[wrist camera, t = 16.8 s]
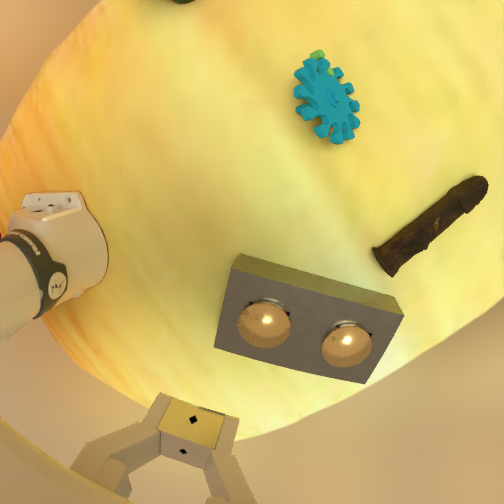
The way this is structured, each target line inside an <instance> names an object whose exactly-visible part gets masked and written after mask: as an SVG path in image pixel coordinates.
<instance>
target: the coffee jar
mask: <svg viewBox="0 0 504 504" xmlns="http://www.w3.org/2000/svg"><path fill="white" fill-rule="evenodd" d="M172 1H175V2H187V1H190V0H172Z"/></svg>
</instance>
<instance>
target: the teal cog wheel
mask: <svg viewBox="0 0 504 504" xmlns="http://www.w3.org/2000/svg"><path fill="white" fill-rule="evenodd" d="M323 57H325V54H324V52H323V51H322V50H320V49H319V50H317V51H315V52H313V53H311V54H310V58H309V59H307V60H305V61H303V65H304V66H305V67H302V68H300V69H298V70H296V71H295V73H294V76H295V77H296V78H297V79H298V80H300V81H301V82H302V83H303V84H304V85H305V86H306V87H305V86H304V85H302V84H300V85H298V86H296V87H295V88H294V97H295V98H297V99H304V100H306V101H308V103H305V104H302V105H300V106H297V107H296V112H297V113H298V114H301V115H302V117H303V120H304V121H308V120H311V119H314V118H315V117H316V116H317V117H320V118H321V119H322V122H323V124H321V125H318V126H315V127H314V131H315V133H316V134H317V136H318V137H319V138H323V137H327V136H328V134H329V128H330V126H331V125H332V127H333V133H332V134H330V136H329V140H330V141H331V142H332V143H333V144H336V145H337V144H342V143H343V140H349V139H353V138H355V136H354V132H353V131H352V129H355V128H358V127H359V125H360V120H359V119H358V118H357V117H356V116H355V115H354V114H353V113H352V112H357V111H359V102H358V101H354V100H352V99H350V98H349V97H348V96H347V94H350V93H353V92H354V89H353V86H352V84H351V83H350V82H349V83H346V84H343V85H342V84H340V83H339V82H338V80H337V79H338V78H341V77H343V76H344V74H343V72H342V71H341V69H340V68H339V67H336V68H334V69H332V68H330V62H329V61H328V60H326V59H325V58H323ZM342 128H343V130H342Z"/></svg>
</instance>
